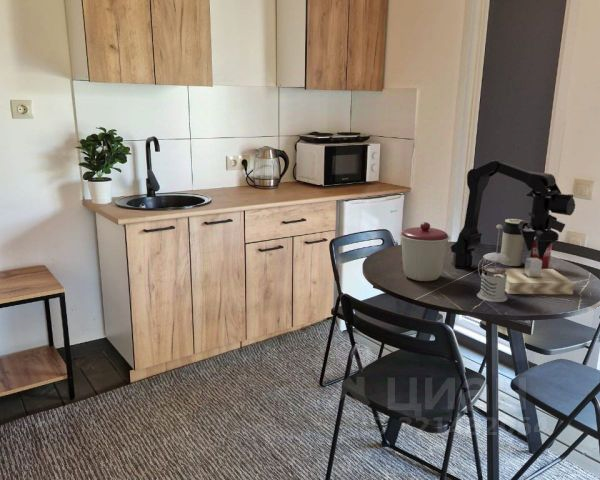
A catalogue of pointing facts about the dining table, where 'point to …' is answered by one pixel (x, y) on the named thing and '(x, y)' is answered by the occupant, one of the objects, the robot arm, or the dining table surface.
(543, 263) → the soda can
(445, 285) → the dining table surface
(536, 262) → the steel peg
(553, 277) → the hole block
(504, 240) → the travel mug
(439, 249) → the canister
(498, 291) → the french press
